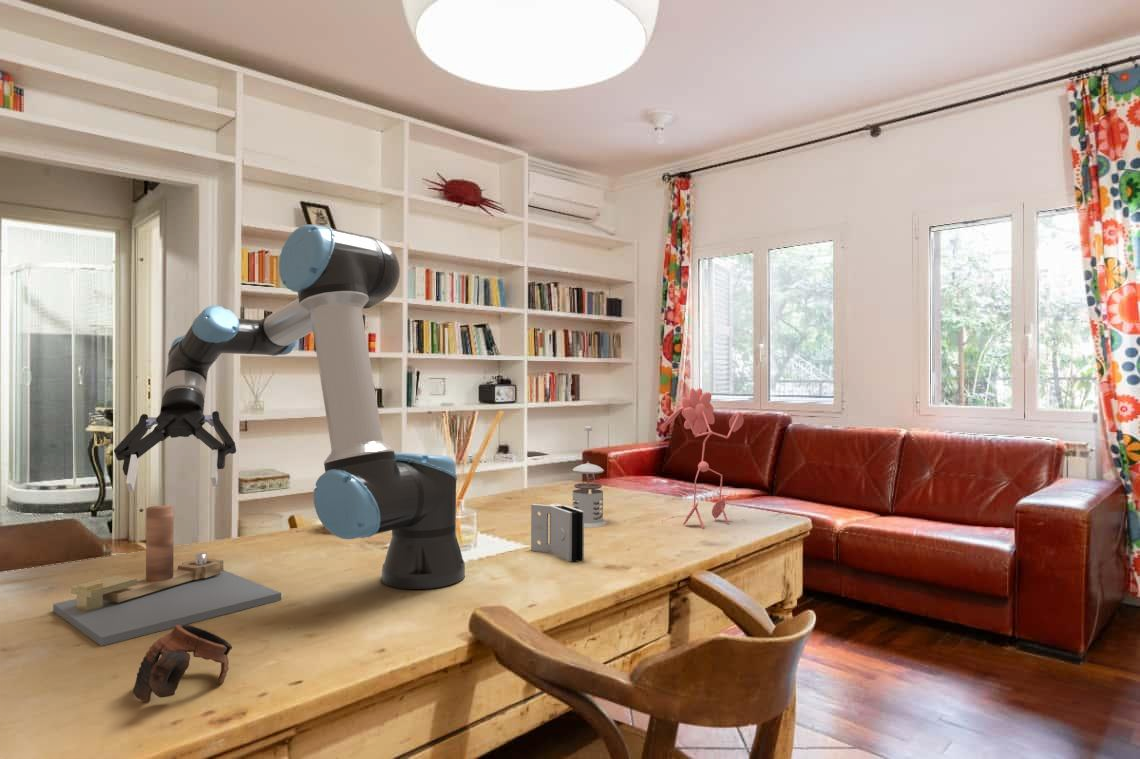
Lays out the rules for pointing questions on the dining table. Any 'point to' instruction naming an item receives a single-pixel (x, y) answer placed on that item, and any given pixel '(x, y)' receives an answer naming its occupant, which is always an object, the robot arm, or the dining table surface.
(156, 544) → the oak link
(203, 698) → the dining table surface
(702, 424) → the pink stick figure
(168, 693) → the brown curved piece
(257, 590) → the charcoal board
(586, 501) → the french press
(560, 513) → the hinge
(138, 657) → the dining table surface
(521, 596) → the dining table surface
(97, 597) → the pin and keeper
